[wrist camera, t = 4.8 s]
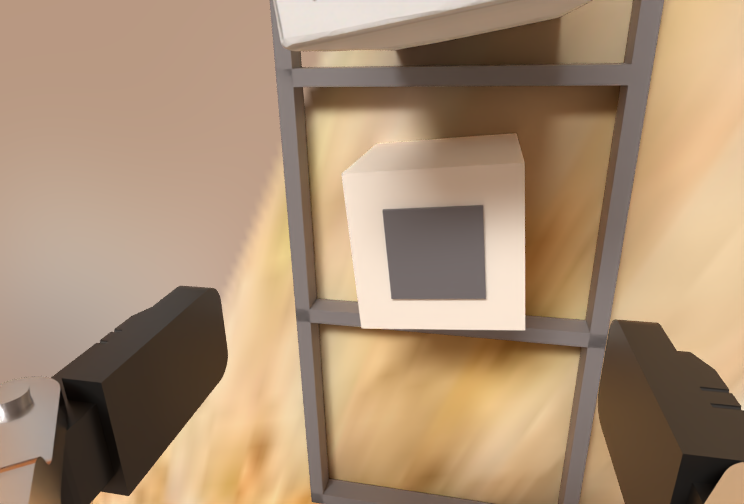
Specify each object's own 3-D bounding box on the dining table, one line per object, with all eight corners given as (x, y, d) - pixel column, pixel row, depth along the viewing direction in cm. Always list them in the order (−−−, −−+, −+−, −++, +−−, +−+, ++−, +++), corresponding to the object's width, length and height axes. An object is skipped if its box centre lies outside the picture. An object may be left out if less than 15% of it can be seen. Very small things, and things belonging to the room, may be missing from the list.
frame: (256, -310, 15) (241, -332, 14) (717, -389, 13) (735, -421, 12) (318, 486, 26) (311, 502, 25) (568, 525, 24) (572, 544, 23)
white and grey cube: (376, 142, 19) (340, 174, 15) (516, 132, 18) (524, 163, 13) (389, 266, 21) (360, 330, 16) (517, 264, 20) (525, 332, 15)
